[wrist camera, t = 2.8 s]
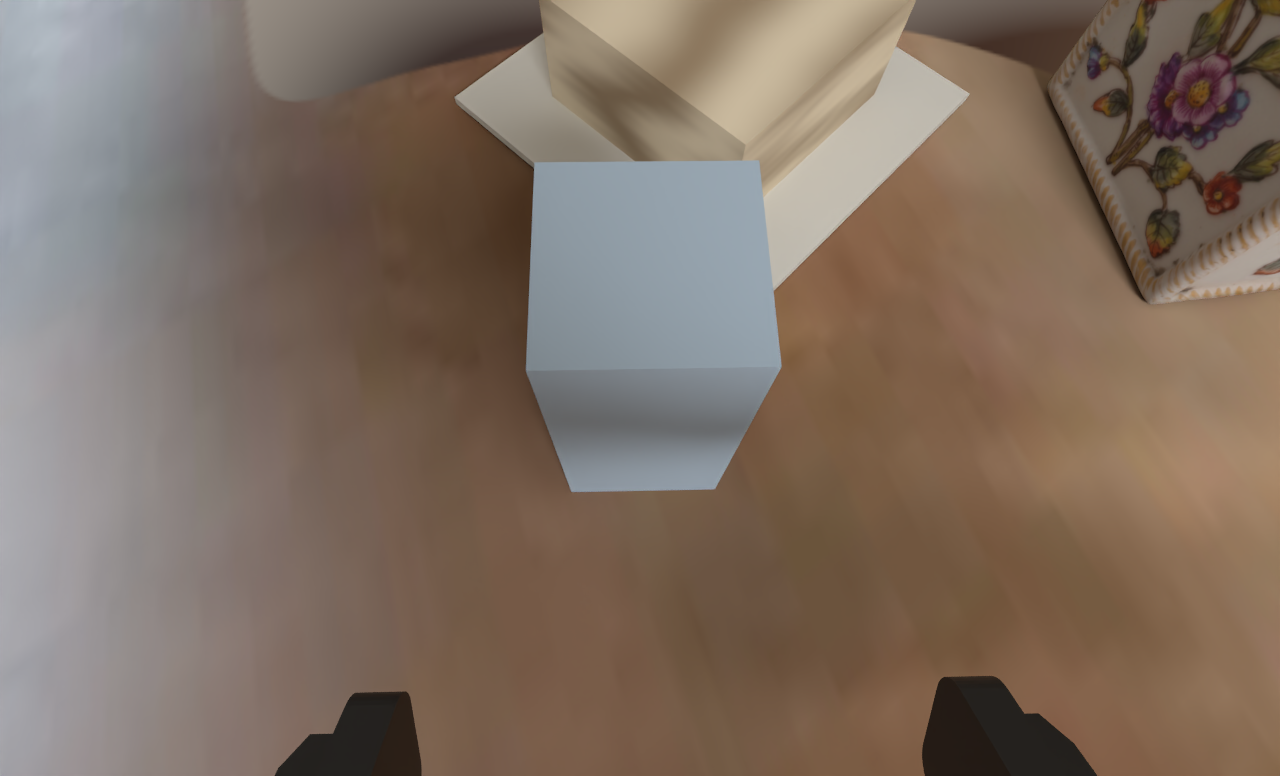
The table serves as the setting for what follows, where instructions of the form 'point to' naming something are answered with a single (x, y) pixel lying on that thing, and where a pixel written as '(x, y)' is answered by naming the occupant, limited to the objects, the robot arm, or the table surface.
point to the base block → (719, 73)
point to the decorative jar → (1182, 140)
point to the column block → (649, 318)
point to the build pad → (798, 203)
